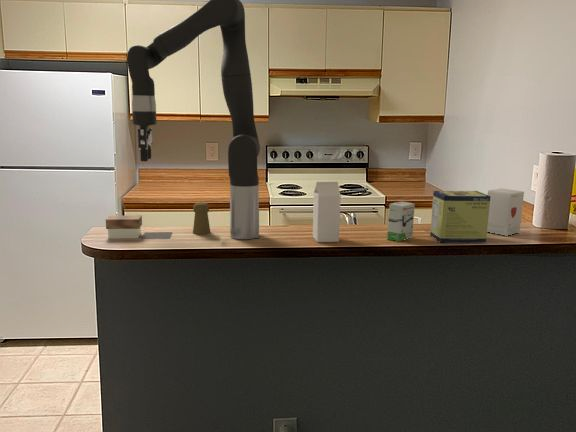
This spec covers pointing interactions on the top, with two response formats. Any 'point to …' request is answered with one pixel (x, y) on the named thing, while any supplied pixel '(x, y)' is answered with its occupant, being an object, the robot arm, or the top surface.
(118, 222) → the lid
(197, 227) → the cork
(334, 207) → the milk carton
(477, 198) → the protein box
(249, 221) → the robot arm
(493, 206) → the supplement box
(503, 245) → the top surface
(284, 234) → the top surface
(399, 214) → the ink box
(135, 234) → the dish
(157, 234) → the mat
